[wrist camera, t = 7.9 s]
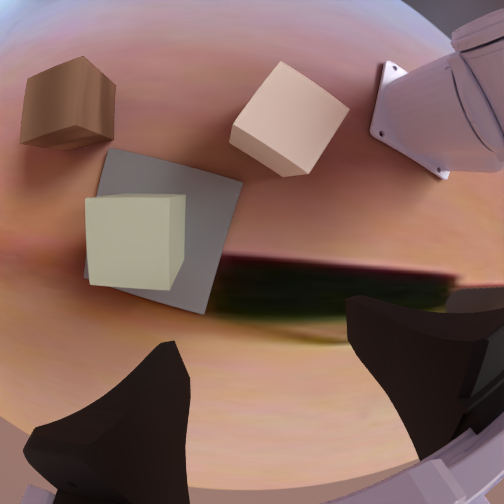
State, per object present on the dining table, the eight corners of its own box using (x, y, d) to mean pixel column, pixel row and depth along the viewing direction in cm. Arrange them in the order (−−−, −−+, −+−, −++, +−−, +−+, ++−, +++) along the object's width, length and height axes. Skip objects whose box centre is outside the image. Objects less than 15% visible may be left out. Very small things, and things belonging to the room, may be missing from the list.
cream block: (314, 128, 18) (349, 109, 13) (282, 177, 19) (308, 173, 13) (263, 94, 17) (280, 60, 12) (229, 142, 18) (232, 124, 12)
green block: (186, 194, 18) (170, 197, 12) (184, 259, 19) (169, 290, 13) (124, 193, 17) (85, 198, 11) (124, 256, 18) (89, 284, 12)
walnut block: (116, 85, 16) (83, 55, 10) (114, 139, 17) (75, 124, 11) (68, 99, 15) (27, 78, 10) (65, 150, 16) (20, 143, 11)
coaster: (242, 182, 19) (243, 182, 18) (204, 311, 21) (204, 314, 20) (112, 148, 17) (109, 147, 16) (86, 275, 19) (83, 277, 18)
